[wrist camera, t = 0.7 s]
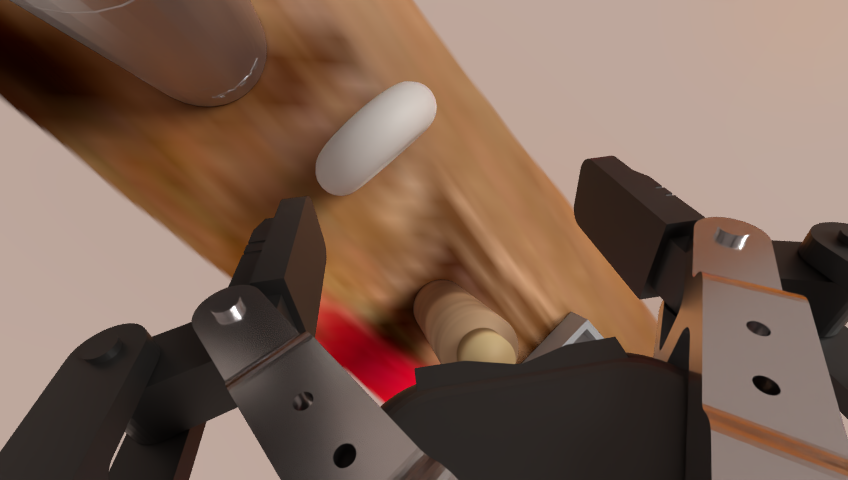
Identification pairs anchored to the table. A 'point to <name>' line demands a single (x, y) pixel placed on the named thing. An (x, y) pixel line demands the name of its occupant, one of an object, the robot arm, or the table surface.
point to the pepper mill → (462, 326)
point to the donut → (375, 137)
